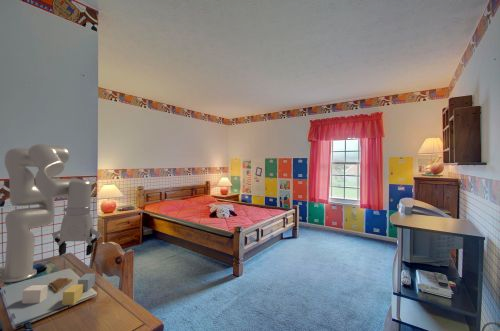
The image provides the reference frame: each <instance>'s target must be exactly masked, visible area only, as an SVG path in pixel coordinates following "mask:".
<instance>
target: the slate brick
mask: <svg viewBox="0 0 500 331" xmlns="http://www.w3.org/2000/svg"><path fill="white" fill-rule="evenodd" d="M95 282H96V273H84V275H82V276H81V277H80V278H79V279H78V280H77V284H83V292H88V291H89V290H91V289H92V288H93V287H94V286H95Z"/></svg>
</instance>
